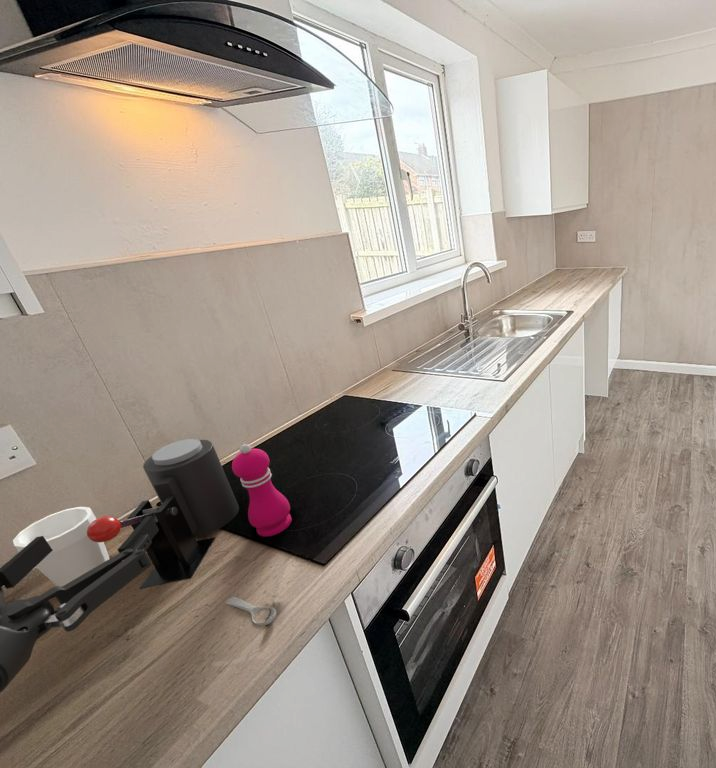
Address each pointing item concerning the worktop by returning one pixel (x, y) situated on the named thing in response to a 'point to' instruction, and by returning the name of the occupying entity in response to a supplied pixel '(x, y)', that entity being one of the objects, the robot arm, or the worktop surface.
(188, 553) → the bracket
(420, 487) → the worktop surface
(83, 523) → the foam cup
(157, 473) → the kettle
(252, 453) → the pepper mill
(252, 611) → the bottle opener
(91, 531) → the red knob lever
